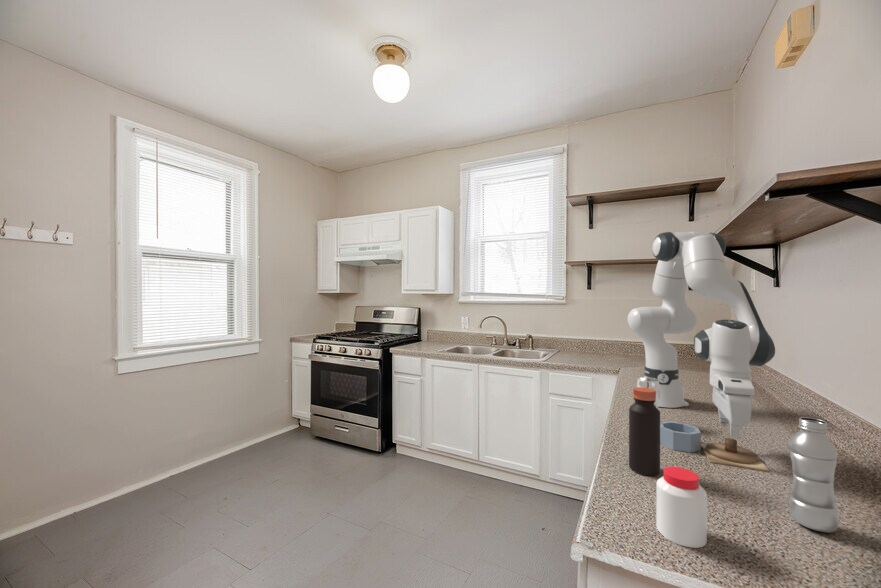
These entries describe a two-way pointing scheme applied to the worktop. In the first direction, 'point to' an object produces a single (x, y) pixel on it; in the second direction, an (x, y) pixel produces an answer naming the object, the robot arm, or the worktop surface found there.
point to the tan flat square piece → (755, 466)
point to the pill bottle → (681, 507)
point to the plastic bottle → (813, 476)
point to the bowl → (680, 436)
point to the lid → (731, 452)
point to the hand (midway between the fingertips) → (728, 430)
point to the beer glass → (650, 386)
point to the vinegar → (644, 433)
